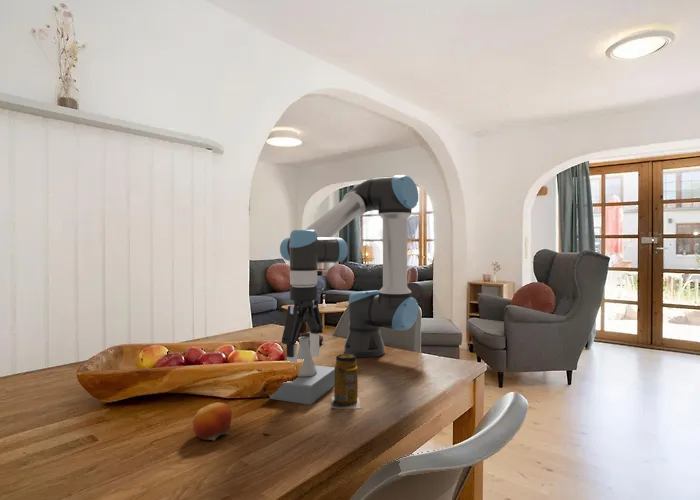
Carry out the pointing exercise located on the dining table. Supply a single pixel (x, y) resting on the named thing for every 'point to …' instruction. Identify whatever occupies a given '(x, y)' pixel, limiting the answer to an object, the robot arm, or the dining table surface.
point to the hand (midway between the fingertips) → (303, 362)
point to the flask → (305, 358)
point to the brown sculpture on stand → (304, 330)
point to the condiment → (345, 383)
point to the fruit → (212, 421)
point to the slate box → (307, 387)
